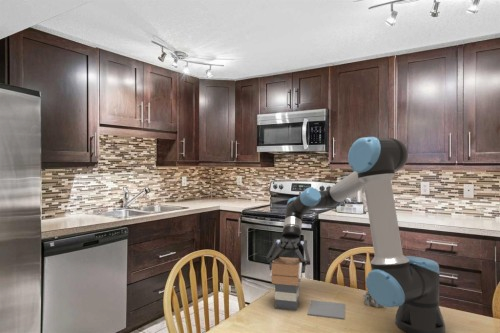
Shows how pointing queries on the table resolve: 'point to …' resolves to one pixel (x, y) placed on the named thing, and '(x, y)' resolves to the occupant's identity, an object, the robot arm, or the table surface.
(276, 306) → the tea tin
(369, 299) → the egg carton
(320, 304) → the rubber mat
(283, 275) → the wooden block stack
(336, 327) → the table surface
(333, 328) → the table surface
